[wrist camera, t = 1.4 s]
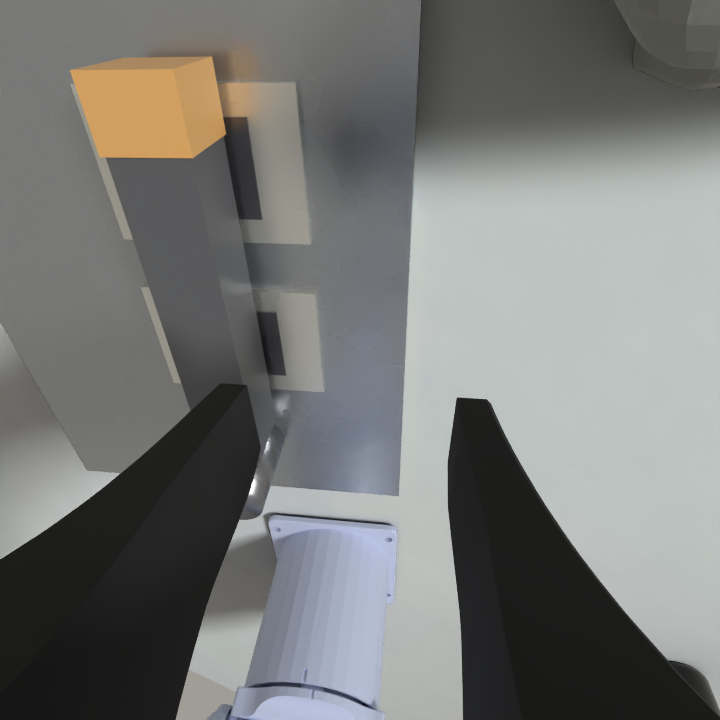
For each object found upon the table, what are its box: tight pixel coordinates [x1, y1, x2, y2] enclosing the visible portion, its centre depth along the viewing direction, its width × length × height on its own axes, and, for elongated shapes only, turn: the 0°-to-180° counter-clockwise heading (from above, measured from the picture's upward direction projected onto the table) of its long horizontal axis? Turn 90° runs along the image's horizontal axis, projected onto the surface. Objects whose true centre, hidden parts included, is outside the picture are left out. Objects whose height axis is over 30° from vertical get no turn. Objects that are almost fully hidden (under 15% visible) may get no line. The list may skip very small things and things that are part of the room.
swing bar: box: [70, 56, 276, 461], centre depth 17 cm, size 14×3×3 cm, turn 2°
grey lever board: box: [0, 0, 422, 520], centre depth 19 cm, size 22×18×5 cm
